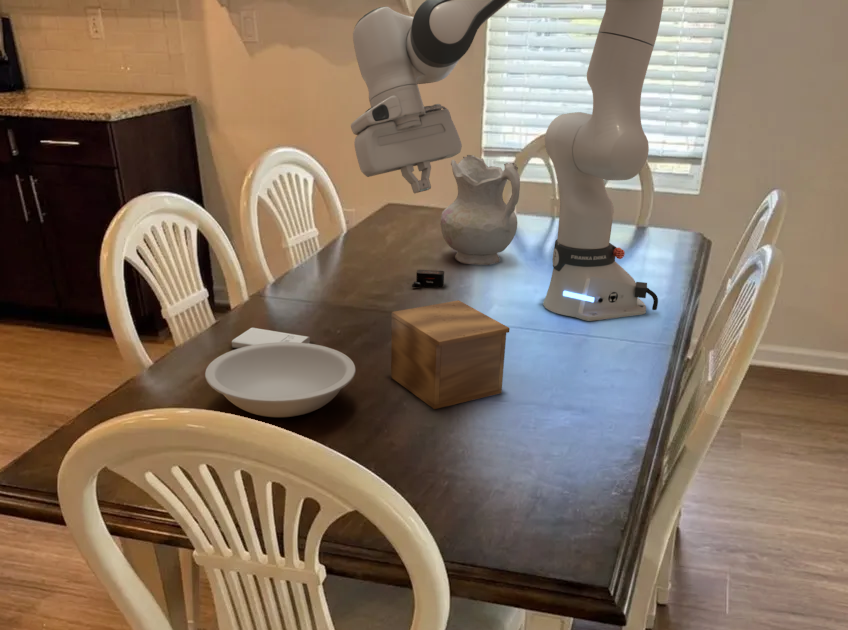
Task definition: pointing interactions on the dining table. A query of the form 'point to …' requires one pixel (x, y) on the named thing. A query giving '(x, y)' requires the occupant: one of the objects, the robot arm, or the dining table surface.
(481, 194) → the ceramic pitcher
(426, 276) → the wireless earbuds
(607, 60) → the robot arm
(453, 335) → the lid
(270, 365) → the soup bowl
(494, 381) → the chest
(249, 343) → the hard drive
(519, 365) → the dining table surface
